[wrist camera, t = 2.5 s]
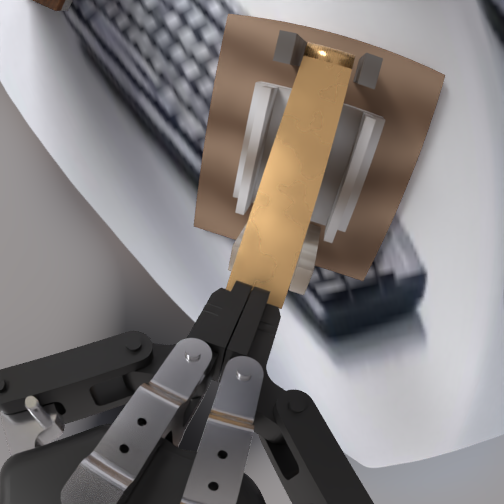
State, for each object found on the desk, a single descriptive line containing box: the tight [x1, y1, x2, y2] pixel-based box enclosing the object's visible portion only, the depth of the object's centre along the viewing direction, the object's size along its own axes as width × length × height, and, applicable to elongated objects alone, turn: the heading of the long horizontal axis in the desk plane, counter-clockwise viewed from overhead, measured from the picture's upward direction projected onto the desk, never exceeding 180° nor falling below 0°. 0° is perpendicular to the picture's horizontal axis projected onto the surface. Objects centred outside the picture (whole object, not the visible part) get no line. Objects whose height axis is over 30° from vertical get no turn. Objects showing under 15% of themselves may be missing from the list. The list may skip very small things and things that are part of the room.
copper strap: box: [226, 42, 355, 309], centre depth 16 cm, size 16×3×2 cm, turn 169°
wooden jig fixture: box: [194, 14, 445, 295], centre depth 23 cm, size 21×18×9 cm
